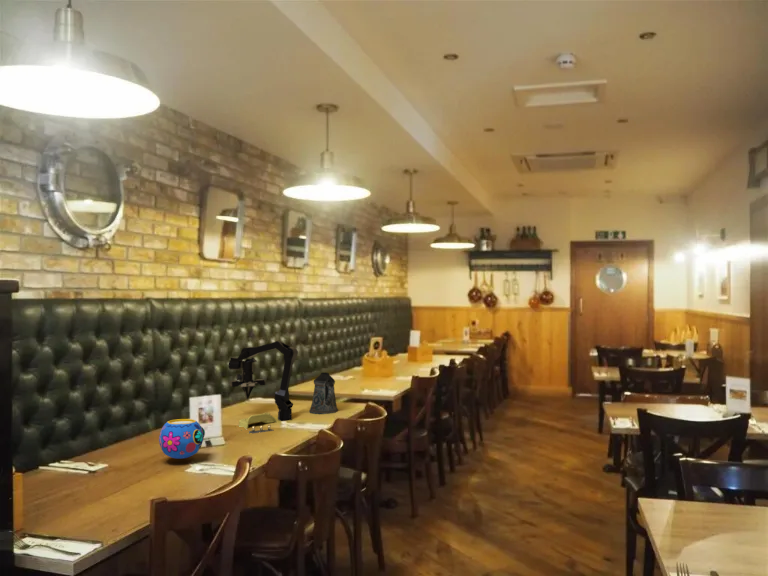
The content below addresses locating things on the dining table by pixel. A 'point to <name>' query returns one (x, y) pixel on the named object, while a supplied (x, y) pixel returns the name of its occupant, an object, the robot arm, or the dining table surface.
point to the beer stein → (324, 395)
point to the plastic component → (257, 419)
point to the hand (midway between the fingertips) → (247, 398)
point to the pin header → (260, 429)
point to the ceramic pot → (181, 438)
